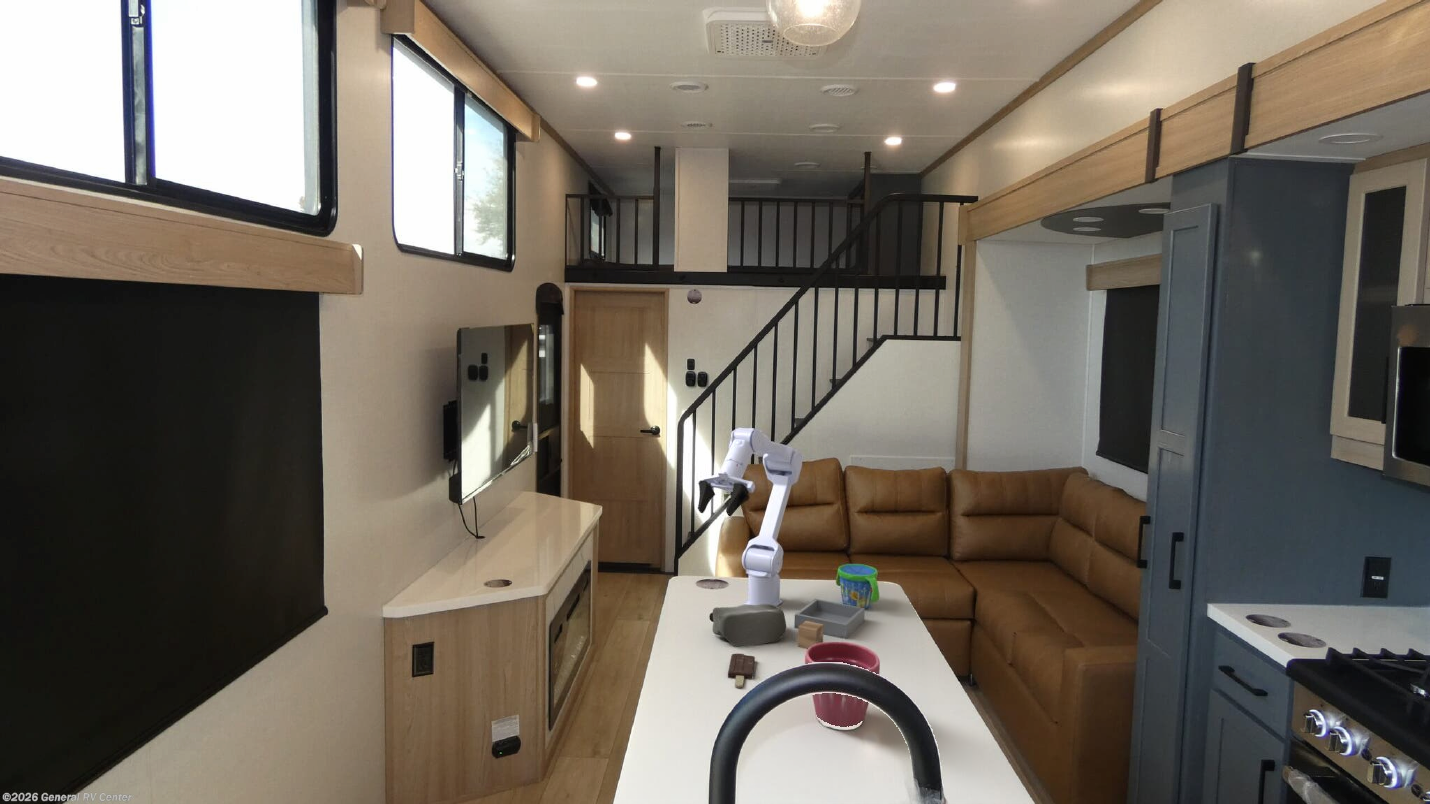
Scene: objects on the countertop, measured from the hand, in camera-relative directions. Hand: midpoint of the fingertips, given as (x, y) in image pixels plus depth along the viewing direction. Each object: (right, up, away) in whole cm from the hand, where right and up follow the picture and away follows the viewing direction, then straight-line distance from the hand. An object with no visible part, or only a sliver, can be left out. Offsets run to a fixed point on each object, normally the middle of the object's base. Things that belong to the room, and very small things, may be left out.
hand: (714, 512), depth 187 cm
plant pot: (+24, -35, -34) cm, 55 cm away
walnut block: (+23, -32, +1) cm, 39 cm away
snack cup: (+39, -30, +29) cm, 57 cm away
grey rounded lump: (+8, -32, +6) cm, 33 cm away
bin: (+29, -31, +15) cm, 45 cm away
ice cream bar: (+6, -34, -14) cm, 37 cm away
